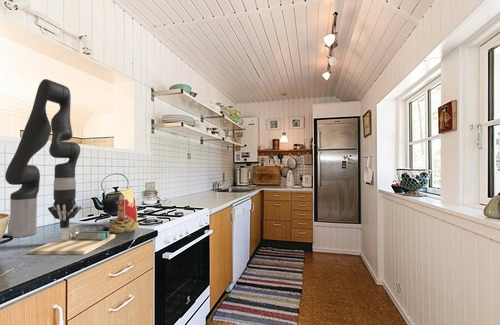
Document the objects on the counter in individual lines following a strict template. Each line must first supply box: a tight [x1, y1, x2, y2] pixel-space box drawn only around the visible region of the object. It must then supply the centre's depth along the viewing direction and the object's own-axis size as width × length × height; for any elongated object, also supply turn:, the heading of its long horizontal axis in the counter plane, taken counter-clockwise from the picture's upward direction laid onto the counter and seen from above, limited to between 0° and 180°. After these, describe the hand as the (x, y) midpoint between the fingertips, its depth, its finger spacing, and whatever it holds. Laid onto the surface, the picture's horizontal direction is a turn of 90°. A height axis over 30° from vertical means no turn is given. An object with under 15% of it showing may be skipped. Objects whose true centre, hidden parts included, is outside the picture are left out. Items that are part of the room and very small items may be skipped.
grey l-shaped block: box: [61, 223, 82, 241], centre depth 103 cm, size 3×7×5 cm, turn 1°
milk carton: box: [116, 186, 138, 222], centre depth 141 cm, size 9×9×20 cm
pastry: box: [108, 215, 139, 235], centre depth 124 cm, size 13×15×8 cm
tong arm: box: [76, 233, 106, 240], centre depth 102 cm, size 12×2×2 cm, turn 88°
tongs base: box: [71, 230, 110, 240], centre depth 103 cm, size 15×3×3 cm, turn 91°
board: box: [28, 233, 116, 256], centre depth 99 cm, size 20×21×2 cm
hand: (64, 228), depth 103 cm, fingers closed
